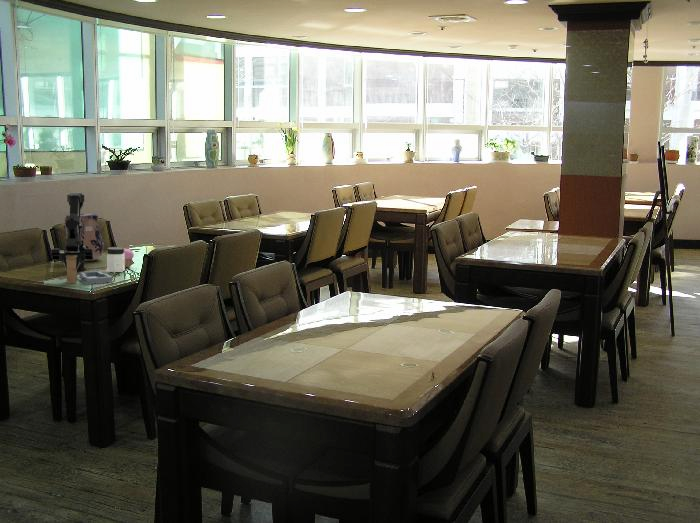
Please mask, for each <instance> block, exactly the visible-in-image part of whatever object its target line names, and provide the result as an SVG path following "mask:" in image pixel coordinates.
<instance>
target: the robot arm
mask: <svg viewBox="0 0 700 523" xmlns="http://www.w3.org/2000/svg"><path fill="white" fill-rule="evenodd" d="M66 202H67V203H68V206H69V214H70V216H68V217H67V221H66V222H65V221H64V226H63V228H64V230H65V233H66V238H65V247H64V248H65V250H61V249H60V248H51V249H50V258H51V261H60V262H62V264H63V265H64V267H65V270H67V255H77V263H76V269H77V272H78V271H79V272H80V271H86V270H87V268H86V267H85V262H86V261H85V259H86V260H92V259H93V249H86V248H85V246H84V243H83V242H82V240H81V230H82V228H83V224H82V222H81V214H82V212H81V210H82V209H83V208H84V206H85V203H86V194H83V192H70V193H69V194H67V195H66Z"/></svg>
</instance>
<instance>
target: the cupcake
mask: <svg viewBox="0 0 700 523" xmlns="http://www.w3.org/2000/svg"><path fill="white" fill-rule="evenodd" d="M124 253H125V267H129V268H130V267H131V266H132V259H133V258H134V257H135V254H134V252H133V251H132V250H131V249H129V248H128V249H127V248H124Z"/></svg>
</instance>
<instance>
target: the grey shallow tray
mask: <svg viewBox="0 0 700 523" xmlns="http://www.w3.org/2000/svg"><path fill="white" fill-rule="evenodd" d="M77 281H80V282H81V283H84V284H85V285H94V283H96V284H106V282H109V283H115V281H114V280H113V276H112V275H110V274H108V273H107V272H105V273H103V272H102V271H99V270H94V271H82V272H80V271H79V276H77Z"/></svg>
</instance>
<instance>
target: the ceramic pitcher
mask: <svg viewBox="0 0 700 523" xmlns="http://www.w3.org/2000/svg"><path fill="white" fill-rule="evenodd" d="M68 216H70V213H69V214H67V215H66V216H65V218H64V223H65V222H66V221H67V217H68ZM98 218H99V215H97V214H95V213H81V222H82V224H83V228H82V230H81V240H82V242H83V243H84V246H85V248H86V249H93V259H92V260H86V259H85V261H84V262H92V261H96V260H98V259H100V257H101V256H102V255H103V252H104V248H105V244H104V239H103V236H102V233H101V229H100V227H99V223H98Z"/></svg>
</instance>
